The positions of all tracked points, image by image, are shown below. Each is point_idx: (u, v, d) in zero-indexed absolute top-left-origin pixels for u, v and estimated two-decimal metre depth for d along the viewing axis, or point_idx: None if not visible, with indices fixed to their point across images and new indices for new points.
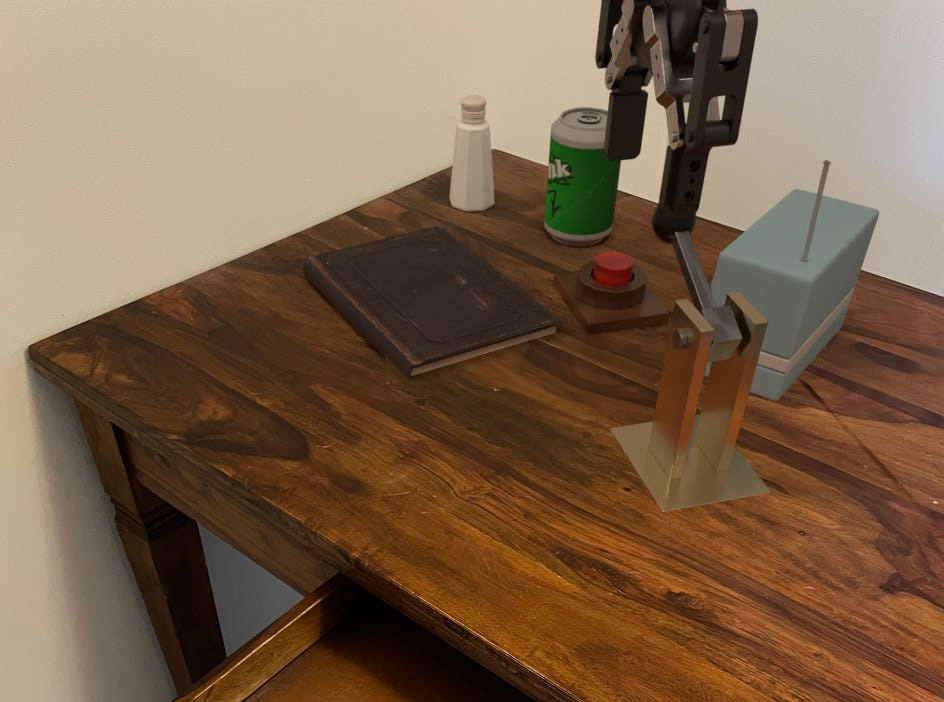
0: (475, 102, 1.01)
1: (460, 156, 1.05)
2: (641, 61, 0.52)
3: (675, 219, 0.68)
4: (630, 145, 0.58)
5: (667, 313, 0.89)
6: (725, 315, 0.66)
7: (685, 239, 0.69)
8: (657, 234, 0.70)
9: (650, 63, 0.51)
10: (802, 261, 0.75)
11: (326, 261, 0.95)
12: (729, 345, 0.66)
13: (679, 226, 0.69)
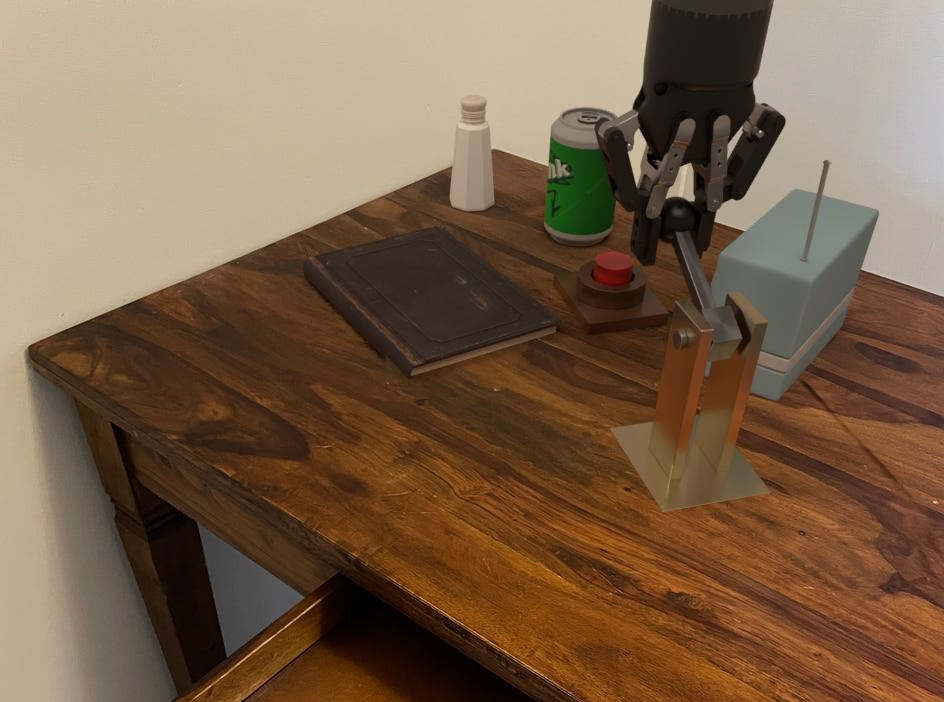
0: (475, 102, 1.01)
1: (460, 156, 1.05)
2: None
3: (675, 219, 0.68)
4: None
5: (667, 313, 0.89)
6: (725, 315, 0.66)
7: (685, 239, 0.69)
8: None
9: None
10: (802, 261, 0.75)
11: (326, 261, 0.95)
12: (729, 345, 0.66)
13: (679, 226, 0.69)
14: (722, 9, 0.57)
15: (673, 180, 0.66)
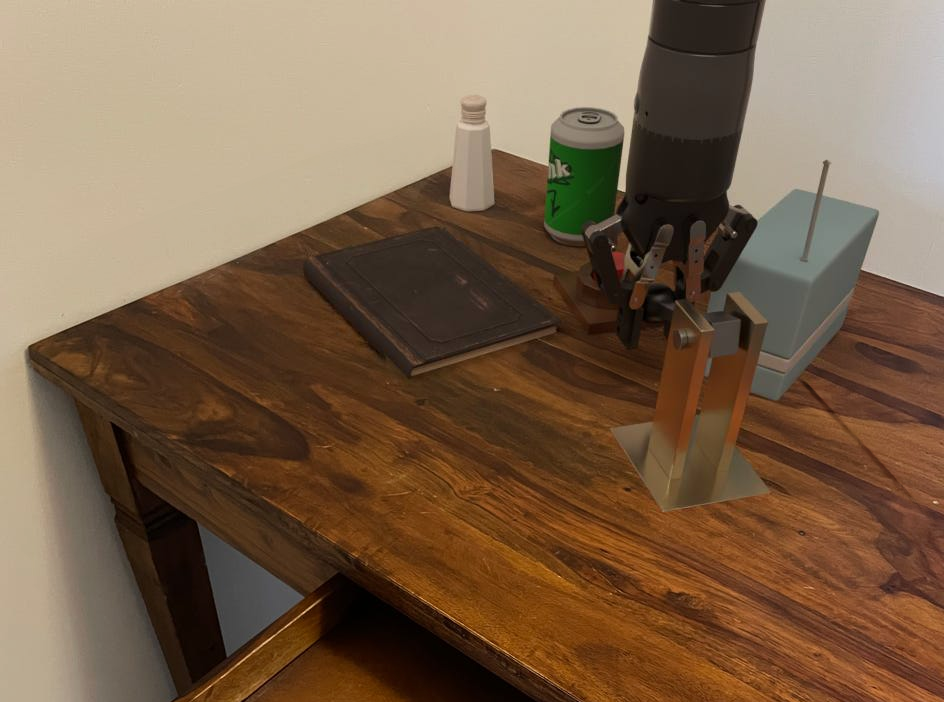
0: (475, 102, 1.01)
1: (460, 156, 1.05)
2: None
3: (654, 292, 0.74)
4: None
5: None
6: (719, 314, 0.67)
7: (668, 303, 0.73)
8: (643, 315, 0.75)
9: None
10: (802, 261, 0.75)
11: (326, 261, 0.95)
12: (730, 330, 0.66)
13: (660, 297, 0.74)
14: (696, 135, 0.62)
15: (654, 276, 0.71)
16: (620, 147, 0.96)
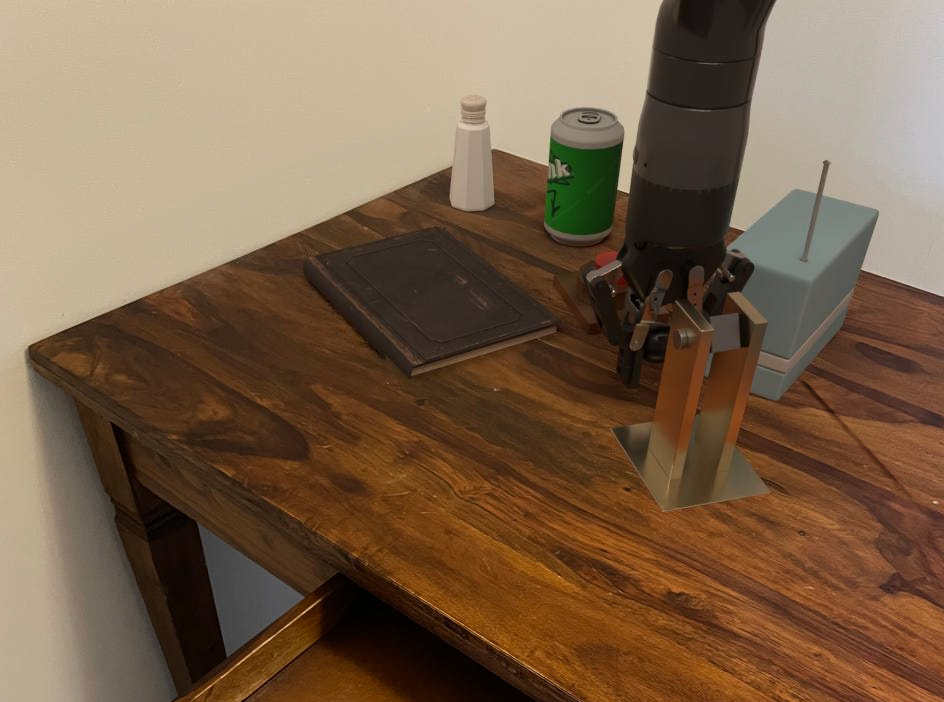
0: (475, 102, 1.01)
1: (460, 156, 1.05)
2: None
3: (653, 328, 0.75)
4: None
5: (667, 313, 0.89)
6: None
7: None
8: (645, 351, 0.76)
9: None
10: (802, 261, 0.75)
11: (326, 261, 0.95)
12: (729, 323, 0.66)
13: (659, 331, 0.75)
14: (694, 185, 0.64)
15: (653, 319, 0.73)
16: (620, 147, 0.96)
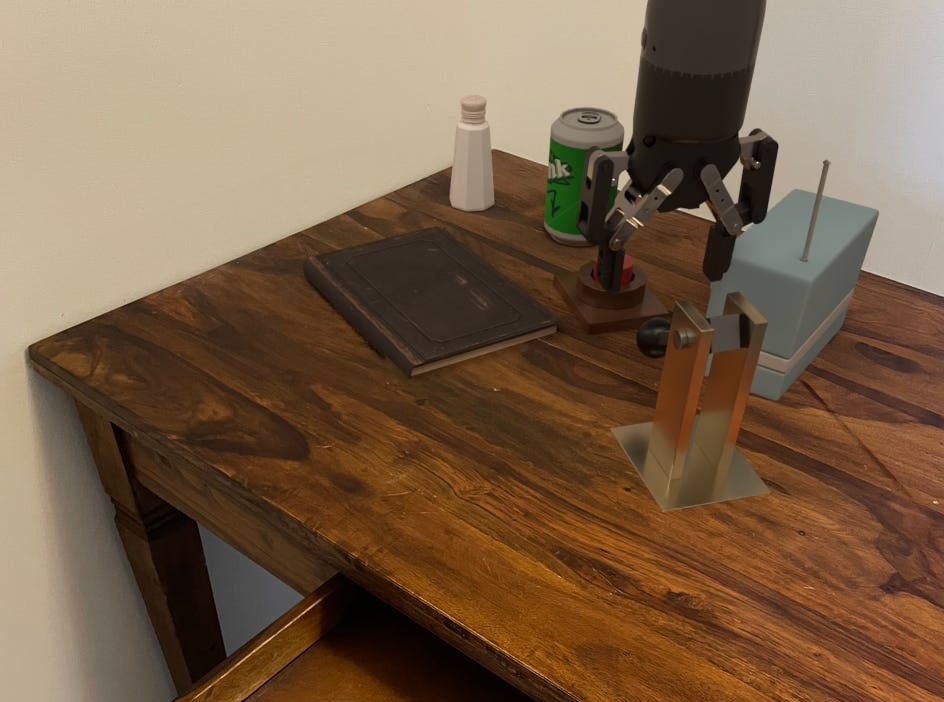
0: (475, 102, 1.01)
1: (460, 156, 1.05)
2: None
3: (653, 323, 0.75)
4: (711, 269, 0.74)
5: (667, 313, 0.89)
6: None
7: None
8: (644, 346, 0.76)
9: None
10: (802, 261, 0.75)
11: (326, 261, 0.95)
12: (729, 324, 0.66)
13: (659, 327, 0.75)
14: (706, 69, 0.60)
15: (644, 221, 0.68)
16: (620, 147, 0.96)
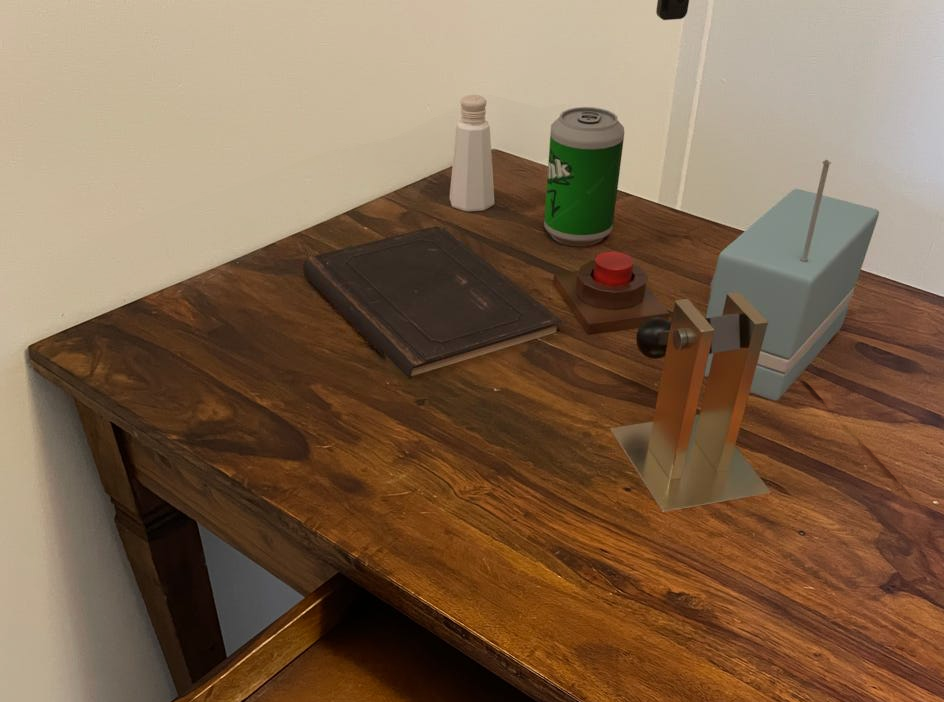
0: (475, 102, 1.01)
1: (460, 156, 1.05)
2: None
3: (653, 323, 0.75)
4: None
5: (667, 313, 0.89)
6: None
7: None
8: (644, 346, 0.76)
9: None
10: (802, 261, 0.75)
11: (326, 261, 0.95)
12: (729, 324, 0.66)
13: (659, 327, 0.75)
14: None
15: None
16: (620, 147, 0.96)
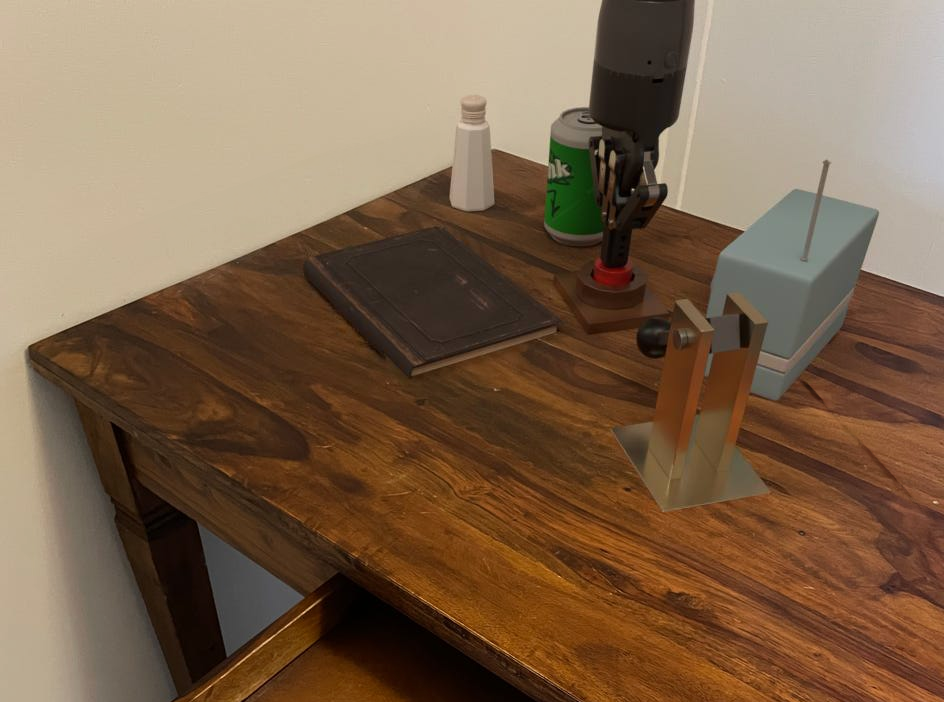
0: (475, 102, 1.01)
1: (460, 156, 1.05)
2: None
3: (653, 323, 0.75)
4: None
5: (667, 313, 0.89)
6: None
7: None
8: (644, 346, 0.76)
9: None
10: (802, 261, 0.75)
11: (326, 261, 0.95)
12: (729, 324, 0.66)
13: (659, 327, 0.75)
14: (594, 55, 0.76)
15: (602, 190, 0.84)
16: None
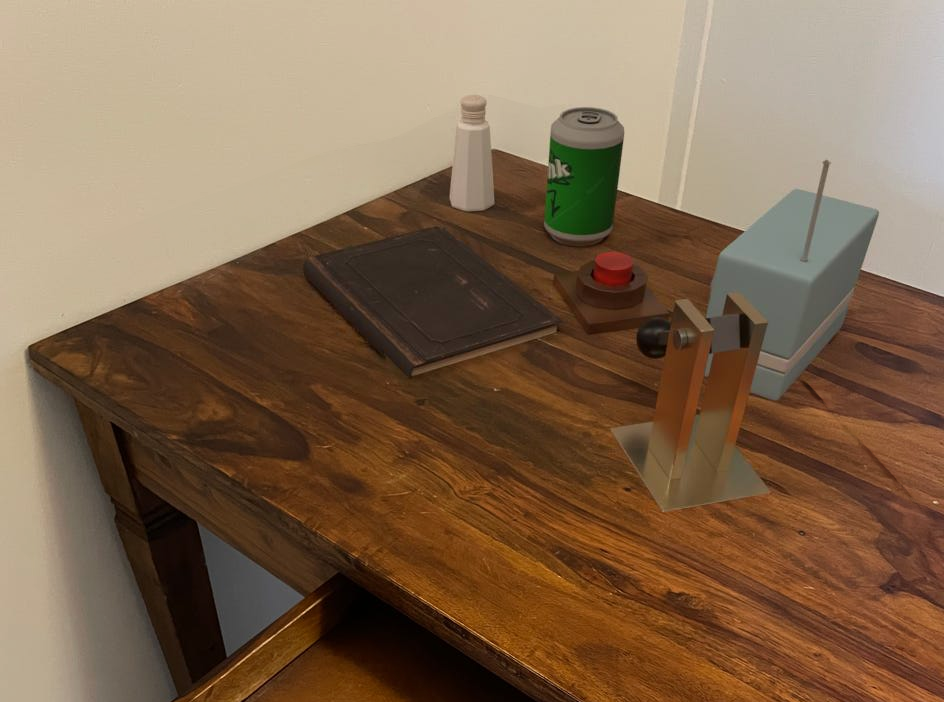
0: (475, 102, 1.01)
1: (460, 156, 1.05)
2: None
3: (653, 323, 0.75)
4: None
5: (667, 313, 0.89)
6: None
7: None
8: (644, 346, 0.76)
9: None
10: (802, 261, 0.75)
11: (326, 261, 0.95)
12: (729, 324, 0.66)
13: (659, 327, 0.75)
14: None
15: None
16: (620, 147, 0.96)
